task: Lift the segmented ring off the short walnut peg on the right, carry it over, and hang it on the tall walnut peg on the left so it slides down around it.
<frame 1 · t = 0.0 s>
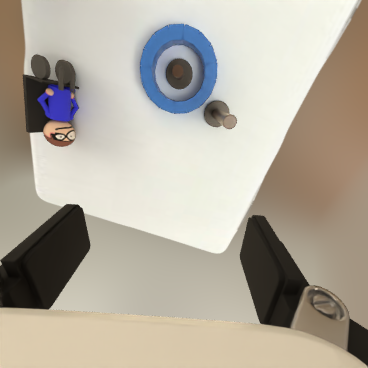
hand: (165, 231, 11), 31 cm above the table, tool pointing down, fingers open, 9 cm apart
short peg: (179, 74, 34), on the table
tall peg: (216, 113, 37), on the table
character figurine: (68, 104, 37), on the table
segmented ring: (179, 74, 34), on the table
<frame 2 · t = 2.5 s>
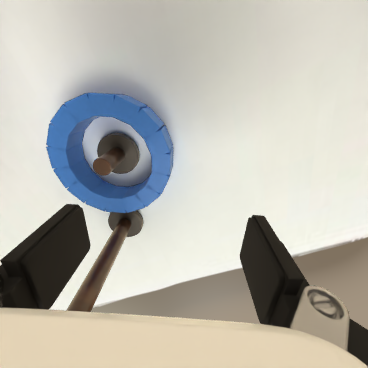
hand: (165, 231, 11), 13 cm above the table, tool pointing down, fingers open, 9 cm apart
short peg: (119, 153, 23), on the table
tall peg: (126, 220, 27), on the table
segmented ring: (119, 153, 23), on the table
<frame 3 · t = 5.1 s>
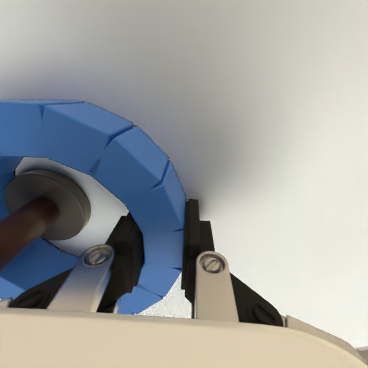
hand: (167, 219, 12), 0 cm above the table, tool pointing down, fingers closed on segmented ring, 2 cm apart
short peg: (53, 203, 12), on the table
segmented ring: (86, 209, 12), on the table, touching gripper
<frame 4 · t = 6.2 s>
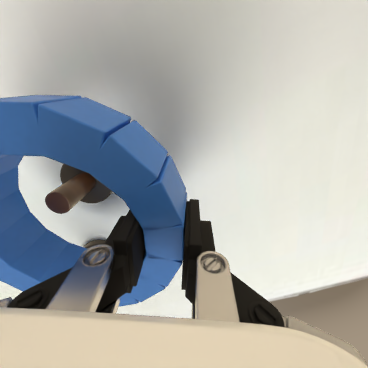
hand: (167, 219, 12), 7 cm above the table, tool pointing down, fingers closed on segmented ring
short peg: (90, 177, 18), on the table
segmented ring: (89, 203, 12), point 6 cm above the table, tilted 6°, touching gripper
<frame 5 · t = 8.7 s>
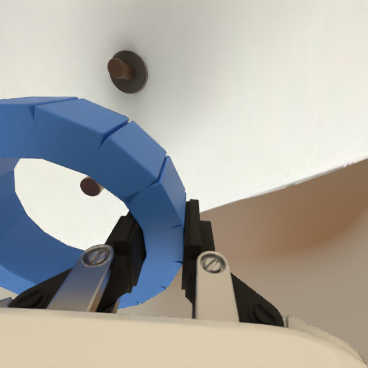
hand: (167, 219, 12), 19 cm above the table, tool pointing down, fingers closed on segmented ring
short peg: (129, 73, 25), on the table
tall peg: (134, 147, 29), on the table
segmented ring: (87, 205, 12), point 18 cm above the table, touching gripper
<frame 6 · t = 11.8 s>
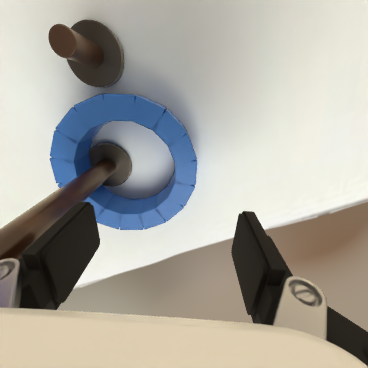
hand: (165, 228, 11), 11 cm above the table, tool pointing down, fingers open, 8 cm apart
short peg: (97, 57, 16), on the table
tall peg: (110, 164, 21), on the table
segmented ring: (133, 162, 20), on the table, touching tall peg
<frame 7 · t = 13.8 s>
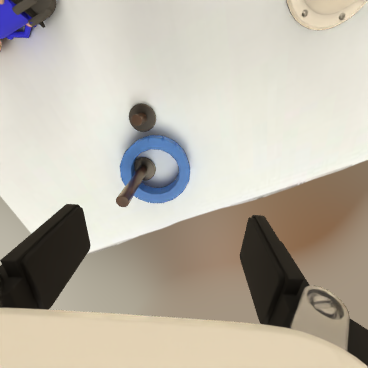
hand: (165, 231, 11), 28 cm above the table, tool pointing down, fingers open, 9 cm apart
short peg: (143, 117, 35), on the table
tall peg: (144, 168, 39), on the table
character figurine: (21, 22, 29), on the table
segmented ring: (156, 167, 38), on the table, touching tall peg
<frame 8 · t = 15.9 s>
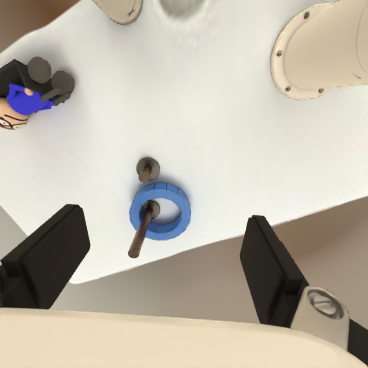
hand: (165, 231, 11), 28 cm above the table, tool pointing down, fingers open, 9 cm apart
short peg: (148, 168, 39), on the table
tall peg: (150, 208, 43), on the table
character figurine: (44, 96, 34), on the table
segmented ring: (161, 208, 43), on the table, touching tall peg
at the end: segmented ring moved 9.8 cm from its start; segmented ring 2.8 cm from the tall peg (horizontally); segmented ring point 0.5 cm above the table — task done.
